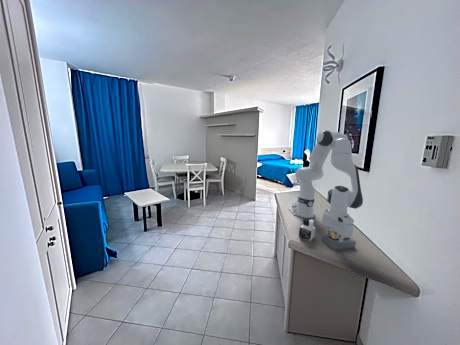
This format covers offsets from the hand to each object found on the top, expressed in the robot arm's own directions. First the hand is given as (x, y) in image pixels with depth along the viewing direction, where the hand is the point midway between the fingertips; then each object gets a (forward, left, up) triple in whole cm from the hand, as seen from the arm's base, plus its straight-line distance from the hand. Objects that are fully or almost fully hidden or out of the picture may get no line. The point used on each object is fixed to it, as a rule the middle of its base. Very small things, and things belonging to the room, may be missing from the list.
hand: (334, 237), depth 118 cm
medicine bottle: (-10, -11, -5) cm, 16 cm away
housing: (0, +3, -5) cm, 6 cm away
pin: (0, 0, -5) cm, 5 cm away
